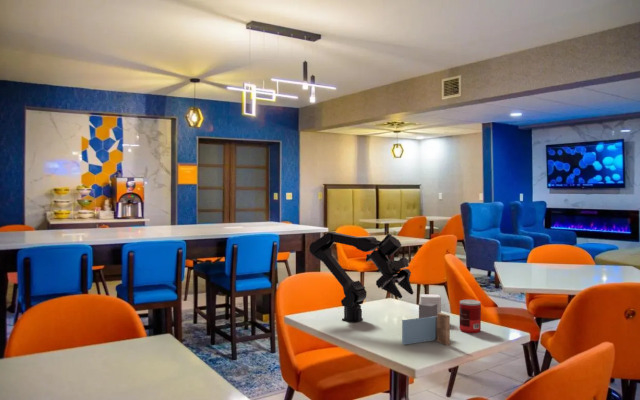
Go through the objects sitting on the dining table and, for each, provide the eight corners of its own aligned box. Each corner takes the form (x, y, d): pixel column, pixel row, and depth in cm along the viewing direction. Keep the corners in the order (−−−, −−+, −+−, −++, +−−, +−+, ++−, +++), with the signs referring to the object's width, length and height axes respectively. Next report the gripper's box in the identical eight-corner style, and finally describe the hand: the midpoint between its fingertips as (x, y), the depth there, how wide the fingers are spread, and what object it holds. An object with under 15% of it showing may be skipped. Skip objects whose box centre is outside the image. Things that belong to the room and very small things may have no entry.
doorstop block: (418, 334, 182) (418, 304, 182) (424, 331, 186) (424, 302, 186) (431, 336, 179) (431, 306, 179) (437, 333, 183) (437, 303, 183)
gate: (436, 339, 176) (436, 315, 175) (439, 340, 174) (439, 316, 174) (401, 344, 169) (402, 320, 169) (404, 345, 168) (404, 321, 168)
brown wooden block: (437, 341, 173) (437, 313, 173) (440, 341, 174) (440, 312, 173) (446, 345, 169) (446, 316, 168) (449, 344, 169) (449, 315, 169)
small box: (439, 319, 204) (439, 294, 204) (441, 323, 198) (441, 297, 198) (419, 319, 205) (419, 293, 205) (420, 322, 199) (421, 296, 199)
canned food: (481, 329, 189) (482, 300, 189) (479, 334, 182) (479, 304, 182) (461, 326, 193) (461, 298, 193) (457, 332, 185) (458, 302, 185)
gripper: (384, 252, 183) (410, 286, 177) (407, 248, 198) (432, 279, 192) (365, 270, 188) (389, 304, 182) (389, 265, 203) (412, 296, 197)
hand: (407, 295), depth 188 cm, fingers open, 9 cm apart
